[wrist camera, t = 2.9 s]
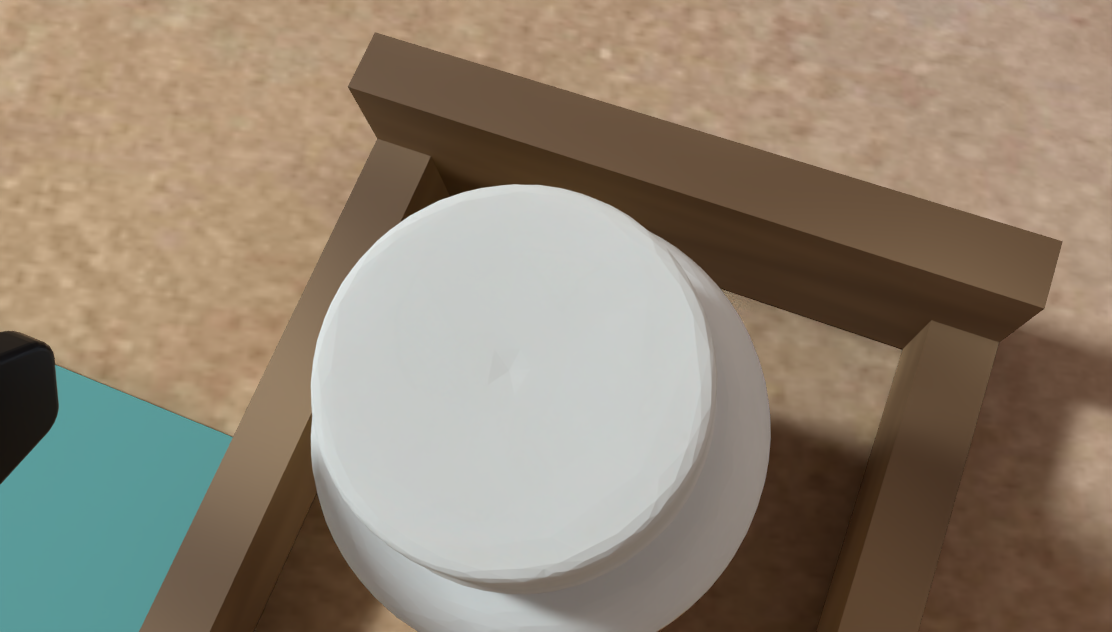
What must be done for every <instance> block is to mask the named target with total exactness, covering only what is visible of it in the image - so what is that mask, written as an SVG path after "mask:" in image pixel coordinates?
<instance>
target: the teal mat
mask: <svg viewBox="0 0 1112 632" xmlns="http://www.w3.org/2000/svg"><path fill="white" fill-rule="evenodd" d="M55 369H56V380H57V390H58V401H59V410H58V415H57V418H56V420H55V423H54V424H53V426H52V428H51V429H50V430H49V432H48V433H47V434H46V435H45V436H44V437H43V438H42V440H41V441H40V442H39V443H38V444H37V445H36V446H35V447H34V448H33V449H32V451H31V452H30V453H29V454H28V455H27V456H26V457H25V458H24V459H23V460H22V461H21V463H20V464H19V465H18V466H17V467H16V468H15V469H14V470H13V471H12V472H11V474H10V475H9V476H8V477H7V478H6V479H5V480H4V481H3V482H2V483H1V484H0V632H139V630H140V628H141V626H142V624H143V622H144V620H145V618H146V616H147V614H148V612H149V610H150V608H151V606H152V604H153V602H154V599H155V597H156V595H157V593H158V591H159V589H160V587H161V585H162V583H163V581H164V579H165V577H166V575H167V573H168V571H169V568H170V566H171V564H172V562H173V560H174V558H175V556H176V554H177V552H178V550H179V548H180V546H181V544H182V542H183V540H184V537H185V535H186V533H187V531H188V529H189V527H190V525H191V523H192V521H193V519H194V517H195V515H196V513H197V511H198V509H199V506H200V504H201V502H202V500H203V498H204V496H205V494H206V492H207V490H208V488H209V486H210V484H211V482H212V480H213V478H214V475H215V473H216V471H217V469H218V467H219V465H220V463H221V461H222V459H223V457H224V455H225V453H226V451H227V449H228V447H229V444H230V442H231V440H232V438H233V437H231V436H228V435H226V434H224V433H221V432H219V431H216V430H214V429H211V428H209V427H206V426H204V425H202V424H199V423H197V422H194V421H192V420H189V419H187V418H184V417H182V416H179V415H177V414H175V413H172V412H170V411H167V410H165V409H162V408H160V407H157V406H155V405H153V404H150V403H148V402H145V401H143V400H140V399H138V398H135V397H133V396H130V395H128V394H126V393H123V392H121V391H118V390H116V389H113V388H111V387H108V386H106V385H104V384H101V383H99V382H96V381H94V380H91V379H89V378H86V377H84V376H81V375H79V374H77V373H74V372H72V371H69V370H67V369H64V368H62V367H59V366H57V365H55Z"/></svg>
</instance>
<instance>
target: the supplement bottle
mask: <svg viewBox="0 0 1112 632" xmlns="http://www.w3.org/2000/svg"><path fill="white" fill-rule="evenodd" d="M311 407H312V427H311V458H312V469H313V474H314V479H315V484H316V490H317V494H318V497H319V501H320V505H321V508H322V511H323V514H324V517H325V521H326V523H327V525H328V528H329V530H330V532H331V534H332V537H333V539H334V541H335V543H336V544H337V546H338V548H339V550H340V552H341V554H342V556H343V557H344V559H345V560H346V562H347V563H348V565H349V566H350V568H351V569H352V570H353V572H354V573H355V574H356V576H357V577H358V578H359V580H360V581H361V582H362V583H363V585H364V586H365V587H366V588H367V589H368V590H369V591H370V592H371V594H372V595H373V596H374V597H375V598H376V599H377V600H378V601H379V602H381V603H382V604H383V605H384V606H385V607H386V608H387V609H388V610H389V611H390V612H391V613H393V614H394V615H395V616H396V617H397V618H399V619H400V620H402V621H403V622H405V623H406V624H408V625H409V626H411V627H412V628H414V629H415V630H417V631H418V632H658V631H659V630H661V629H663V628H664V627H666V626H667V625H669V624H670V623H671V622H673V621H674V620H676V619H677V618H678V617H679V616H681V615H682V614H683V613H684V612H686V611H687V610H688V609H689V608H690V607H691V606H692V605H693V604H694V603H696V602H697V601H698V600H699V599H700V598H701V597H702V596H703V595H704V594H705V593H706V592H707V591H708V590H709V589H710V588H711V586H712V585H713V584H714V583H715V581H716V580H717V579H718V578H719V576H720V575H721V574H722V573H723V571H724V570H725V569H726V567H727V566H728V564H729V563H730V561H731V560H732V558H733V557H734V555H735V553H736V552H737V550H738V548H739V546H740V545H741V543H742V541H743V539H744V537H745V536H746V534H747V532H748V529H749V527H750V524H751V522H752V520H753V517H754V515H755V512H756V510H757V507H758V504H759V500H760V497H761V494H762V490H763V487H764V483H765V479H766V474H767V468H768V463H769V453H770V441H771V428H770V409H769V401H768V395H767V389H766V382H765V379H764V375H763V372H762V368H761V365H760V361H759V358H758V356H757V353H756V351H755V348H754V346H753V343H752V341H751V338H750V335H749V333H748V332H747V330H746V328H745V326H744V324H743V322H742V320H741V318H740V316H739V315H738V313H737V312H736V310H735V308H734V307H733V305H732V304H731V302H730V301H729V300H728V298H727V297H726V296H725V294H724V293H723V292H722V291H721V289H720V288H719V287H718V285H717V284H716V283H715V282H714V281H713V280H712V279H711V278H710V277H709V276H708V275H707V273H706V272H705V271H704V270H703V269H702V268H701V267H700V266H698V265H697V264H696V263H695V262H694V261H693V260H692V259H690V258H689V257H688V256H687V255H685V254H684V253H683V252H682V251H680V250H679V249H678V248H677V247H675V246H673V245H672V244H670V243H669V242H667V241H665V240H664V239H662V238H661V237H659V236H657V235H655V234H653V233H651V232H650V231H648V230H647V229H646V228H644V227H643V226H642V225H640V224H639V223H638V222H637V221H635V220H634V219H633V218H631V217H630V216H629V215H627V214H625V213H623V212H621V211H620V210H618V209H616V208H614V207H613V206H611V205H609V204H606V203H604V202H602V201H599V200H597V199H594V198H592V197H589V196H587V195H584V194H581V193H578V192H574V191H570V190H566V189H562V188H557V187H550V186H543V185H518V184H512V185H501V186H493V187H486V188H479V189H475V190H471V191H467V192H463V193H460V194H457V195H454V196H451V197H448V198H445V199H442V200H439V201H437V202H435V203H433V204H431V205H429V206H427V207H426V208H424V209H422V210H420V211H418V212H416V213H414V214H412V215H410V216H409V217H407V218H406V219H405V220H403V221H402V222H400V223H399V224H398V225H396V226H395V227H393V228H392V229H391V230H389V231H388V232H387V233H386V234H385V235H383V236H382V237H381V238H380V239H379V240H377V241H376V243H375V244H374V245H373V246H372V247H371V248H370V249H369V250H368V251H367V252H366V253H365V254H364V255H363V256H362V257H361V258H360V259H359V261H358V262H357V263H356V265H355V266H354V267H353V268H352V270H351V271H350V272H349V274H348V275H347V277H346V278H345V279H344V281H343V282H342V284H341V286H340V287H339V289H338V291H337V293H336V295H335V297H334V298H333V300H332V302H331V304H330V307H329V309H328V311H327V313H326V316H325V318H324V321H323V324H322V327H321V330H320V333H319V336H318V339H317V343H316V349H315V354H314V359H313V367H312V376H311Z"/></svg>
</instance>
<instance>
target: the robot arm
mask: <svg viewBox="0 0 1112 632" xmlns="http://www.w3.org/2000/svg"><path fill="white" fill-rule="evenodd" d="M58 410H59V401H58V390H57V380H56V369H55V358H54V354H53V351H52V350H51V348H50V346H49V345H47V344H46V343H44V342H42V341H40V340H37V339H35V338H32V337H30V336H27V335H25V334H22V333H20V332H15V331H4V332H0V484H1V483H2V482H3V481H4V480H5V479H6V478H7V477H8V476H9V475H10V474H11V472H12V471H13V470H14V469H15V468H16V467H17V466H18V465H19V464H20V463H21V461H22V460H23V459H24V458H25V457H26V456H27V455H28V454H29V453H30V452H31V451H32V449H33V448H34V447H35V446H36V445H37V444H38V443H39V442H40V441H41V440H42V438H43V437H44V436H45V435H46V434H47V433H48V432H49V430H50V429H51V428H52V426H53V424H54V423H55V420H56V418H57V415H58Z"/></svg>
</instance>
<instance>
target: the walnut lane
mask: <svg viewBox="0 0 1112 632" xmlns="http://www.w3.org/2000/svg"><path fill="white" fill-rule="evenodd" d="M348 88H349V90H350V91H351V93H352V95H353V97H354V98H355V100H356V102H357V104H358V105H359V107H360V109H361V111H362V112H363V114H364V116H365V118H366V119H367V121H368V123H369V125H370V126H371V128H372V130H373V132H374V133H375V135H376V137H377V141H376V143H375V145H374V147H373V149H372V151H371V153H370V155H369V157H368V159H367V161H366V164H365V166H364V168H363V170H362V172H361V174H360V176H359V178H358V180H357V182H356V184H355V186H354V188H353V190H352V192H351V195H350V197H349V199H348V201H347V203H346V205H345V207H344V209H343V211H342V213H341V215H340V217H339V219H338V221H337V223H336V225H335V228H334V230H333V232H332V234H331V236H330V238H329V240H328V242H327V244H326V246H325V248H324V250H323V252H322V254H321V256H320V259H319V261H318V263H317V265H316V267H315V269H314V271H313V273H312V275H311V277H310V279H309V281H308V283H307V285H306V287H305V290H304V292H303V294H302V296H301V298H300V300H299V302H298V304H297V306H296V308H295V310H294V312H293V314H292V316H291V318H290V321H289V323H288V325H287V327H286V329H285V331H284V333H283V335H282V337H281V339H280V341H279V343H278V345H277V347H276V349H275V352H274V354H273V356H272V358H271V360H270V362H269V364H268V366H267V368H266V370H265V372H264V374H263V376H262V378H261V380H260V383H259V385H258V387H257V389H256V391H255V393H254V395H253V397H252V399H251V401H250V403H249V405H248V407H247V409H246V411H245V414H244V416H243V418H242V420H241V422H240V424H239V426H238V428H237V430H236V432H235V434H234V436H233V438H232V440H231V442H230V444H229V447H228V449H227V451H226V453H225V455H224V457H223V459H222V461H221V463H220V465H219V467H218V469H217V471H216V473H215V475H214V478H213V480H212V482H211V484H210V486H209V488H208V490H207V492H206V494H205V496H204V498H203V500H202V502H201V504H200V506H199V509H198V511H197V513H196V515H195V517H194V519H193V521H192V523H191V525H190V527H189V529H188V531H187V533H186V535H185V537H184V540H183V542H182V544H181V546H180V548H179V550H178V552H177V554H176V556H175V558H174V560H173V562H172V564H171V566H170V568H169V571H168V573H167V575H166V577H165V579H164V581H163V583H162V585H161V587H160V589H159V591H158V593H157V595H156V597H155V599H154V602H153V604H152V606H151V608H150V610H149V612H148V614H147V616H146V618H145V620H144V622H143V624H142V626H141V628H140V630H139V632H254V629H255V627H256V625H257V623H258V621H259V618H260V616H261V614H262V612H263V610H264V607H265V605H266V603H267V601H268V599H269V596H270V594H271V592H272V590H273V588H274V585H275V583H276V581H277V579H278V577H279V574H280V572H281V570H282V568H283V566H284V563H285V561H286V559H287V557H288V555H289V552H290V550H291V548H292V546H293V544H294V541H295V539H296V537H297V535H298V533H299V530H300V528H301V526H302V524H303V522H304V519H305V517H306V515H307V513H308V511H309V508H310V506H311V504H312V502H313V499H314V497H315V495H316V493H317V490H316V484H315V479H314V474H313V469H312V458H311V427H312V407H311V376H312V367H313V359H314V354H315V349H316V343H317V339H318V336H319V333H320V330H321V327H322V324H323V321H324V318H325V316H326V313H327V311H328V309H329V307H330V304H331V302H332V300H333V298H334V297H335V295H336V293H337V291H338V289H339V287H340V286H341V284H342V282H343V281H344V279H345V278H346V277H347V275H348V274H349V272H350V271H351V270H352V268H353V267H354V266H355V265H356V263H357V262H358V261H359V259H360V258H361V257H362V256H363V255H364V254H365V253H366V252H367V251H368V250H369V249H370V248H371V247H372V246H373V245H374V244H375V243H376V241H377V240H379V239H380V238H381V237H382V236H383V235H385V234H386V233H387V232H388V231H389V230H391V229H392V228H393V227H395V226H396V225H398V224H399V223H400V222H402V221H403V220H405V219H406V218H407V217H409V216H410V215H412V214H414V213H416V212H418V211H420V210H422V209H424V208H426V207H427V206H429V205H431V204H433V203H435V202H437V201H439V200H442V199H445V198H448V197H451V196H454V195H457V194H460V193H463V192H467V191H471V190H475V189H479V188H486V187H493V186H501V185H512V184H518V185H543V186H550V187H557V188H562V189H566V190H570V191H574V192H578V193H581V194H584V195H587V196H589V197H592V198H594V199H597V200H599V201H602V202H604V203H606V204H609V205H611V206H613V207H614V208H616V209H618V210H620V211H621V212H623V213H625V214H627V215H629V216H630V217H631V218H633V219H634V220H635V221H637V222H638V223H639V224H640V225H642V226H643V227H644V228H646V229H647V230H648V231H650V232H651V233H653V234H655V235H657V236H659V237H661V238H662V239H664V240H665V241H667V242H669V243H670V244H672V245H673V246H675V247H677V248H678V249H679V250H680V251H682V252H683V253H684V254H685V255H687V256H688V257H689V258H690V259H692V260H693V261H694V262H695V263H696V264H697V265H698V266H700V267H701V268H702V269H703V270H704V271H705V272H706V273H707V275H708V276H709V277H710V278H711V279H712V280H713V281H714V282H715V283H716V284H717V285H718V287H719V288H722V289H725V290H728V291H731V292H734V293H737V294H740V295H743V296H746V297H749V298H752V299H755V300H758V301H761V302H764V303H767V304H770V305H773V306H775V307H778V308H781V309H784V310H787V311H790V312H793V313H796V314H799V315H802V316H805V317H808V318H811V319H814V320H817V321H820V322H823V323H826V324H829V325H832V326H835V327H838V328H841V329H844V330H847V331H850V332H853V333H856V334H859V335H862V336H865V337H868V338H871V339H874V340H877V341H880V342H883V343H886V344H889V345H892V346H895V347H898V348H901V349H903V350H902V353H901V357H900V360H899V363H898V366H897V370H896V373H895V376H894V379H893V383H892V386H891V389H890V392H889V396H888V399H887V402H886V406H885V409H884V412H883V415H882V419H881V422H880V425H879V428H878V432H877V435H876V438H875V441H874V445H873V448H872V451H871V454H870V458H869V461H868V464H867V467H866V471H865V474H864V477H863V481H862V484H861V487H860V490H859V494H858V497H857V500H856V503H855V507H854V510H853V513H852V516H851V520H850V523H849V526H848V529H847V533H846V536H845V539H844V543H843V546H842V549H841V552H840V556H839V559H838V562H837V565H836V569H835V572H834V575H833V578H832V582H831V585H830V588H829V591H828V595H827V598H826V601H825V605H824V608H823V611H822V614H821V618H820V621H819V624H818V627H817V631H816V632H918V631H919V627H920V624H921V620H922V617H923V613H924V609H925V606H926V602H927V599H928V595H929V592H930V588H931V584H932V581H933V577H934V574H935V570H936V566H937V563H938V559H939V556H940V552H941V549H942V545H943V541H944V538H945V534H946V531H947V527H948V524H949V520H950V516H951V513H952V509H953V506H954V502H955V499H956V495H957V491H958V488H959V484H960V481H961V477H962V474H963V470H964V466H965V463H966V459H967V456H968V452H969V449H970V445H971V441H972V438H973V434H974V431H975V427H976V424H977V420H978V416H979V413H980V409H981V406H982V402H983V398H984V395H985V391H986V388H987V384H988V381H989V377H990V373H991V370H992V366H993V363H994V359H995V356H996V352H997V348H998V345H999V342H1000V341H1002V340H1003V339H1004V338H1006V337H1007V336H1008V335H1010V334H1011V333H1012V332H1014V331H1015V330H1016V329H1018V328H1019V327H1020V326H1022V325H1023V324H1024V323H1026V322H1027V321H1028V320H1030V319H1031V318H1032V317H1034V316H1035V315H1036V314H1038V313H1039V312H1040V311H1042V310H1043V309H1044V308H1045V304H1046V301H1047V297H1048V293H1049V290H1050V286H1051V282H1052V279H1053V275H1054V271H1055V267H1056V264H1057V260H1058V256H1059V253H1060V249H1061V245H1062V241H1059V240H1056V239H1053V238H1049V237H1046V236H1043V235H1039V234H1036V233H1033V232H1030V231H1026V230H1023V229H1020V228H1016V227H1013V226H1010V225H1007V224H1003V223H1000V222H997V221H993V220H990V219H987V218H984V217H980V216H977V215H974V214H970V213H967V212H964V211H961V210H957V209H954V208H951V207H947V206H944V205H941V204H938V203H934V202H931V201H928V200H924V199H921V198H918V197H915V196H911V195H908V194H905V193H901V192H898V191H895V190H892V189H888V188H885V187H882V186H878V185H875V184H872V183H868V182H865V181H862V180H859V179H855V178H852V177H849V176H845V175H842V174H839V173H836V172H832V171H829V170H826V169H822V168H819V167H816V166H813V165H809V164H806V163H803V162H799V161H796V160H793V159H790V158H786V157H783V156H780V155H776V154H773V153H770V152H767V151H763V150H760V149H757V148H753V147H750V146H747V145H744V144H740V143H737V142H734V141H730V140H727V139H724V138H721V137H717V136H714V135H711V134H707V133H704V132H701V131H697V130H694V129H691V128H688V127H684V126H681V125H678V124H674V123H671V122H668V121H665V120H661V119H658V118H655V117H651V116H648V115H645V114H642V113H638V112H635V111H632V110H628V109H625V108H622V107H619V106H615V105H612V104H609V103H605V102H602V101H599V100H596V99H592V98H589V97H586V96H582V95H579V94H576V93H573V92H569V91H566V90H563V89H559V88H556V87H553V86H550V85H546V84H543V83H540V82H536V81H533V80H530V79H527V78H523V77H520V76H517V75H513V74H510V73H507V72H503V71H500V70H497V69H494V68H490V67H487V66H484V65H480V64H477V63H474V62H471V61H467V60H464V59H461V58H457V57H454V56H451V55H448V54H444V53H441V52H438V51H434V50H431V49H428V48H425V47H421V46H418V45H415V44H411V43H408V42H405V41H402V40H398V39H395V38H392V37H388V36H385V35H382V34H379V33H375V34H374V36H373V38H372V40H371V42H370V44H369V46H368V48H367V50H366V52H365V54H364V56H363V58H362V60H361V62H360V64H359V66H358V68H357V70H356V72H355V74H354V76H353V78H352V80H351V82H350V84H349V86H348Z"/></svg>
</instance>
